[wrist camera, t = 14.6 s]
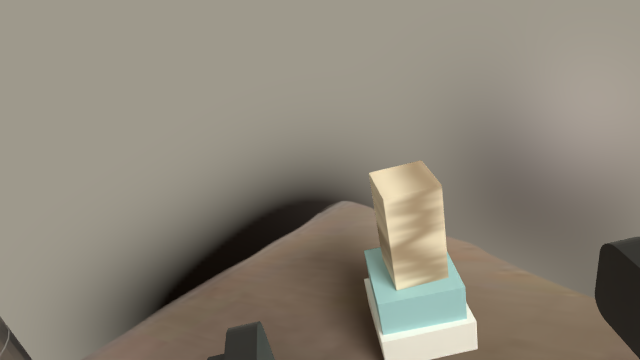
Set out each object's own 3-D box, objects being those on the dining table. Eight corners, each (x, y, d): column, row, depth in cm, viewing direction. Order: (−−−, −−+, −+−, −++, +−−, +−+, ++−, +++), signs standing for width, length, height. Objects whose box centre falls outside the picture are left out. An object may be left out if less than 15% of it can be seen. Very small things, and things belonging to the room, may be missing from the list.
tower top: (383, 335, 44) (377, 304, 42) (369, 279, 51) (364, 250, 49) (466, 318, 43) (465, 287, 41) (441, 264, 50) (438, 235, 48)
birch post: (396, 290, 43) (383, 199, 38) (382, 258, 47) (368, 173, 42) (448, 277, 43) (441, 185, 38) (429, 246, 47) (421, 160, 42)
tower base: (387, 371, 45) (381, 342, 43) (369, 305, 53) (363, 279, 51) (477, 350, 45) (476, 321, 43) (446, 288, 53) (443, 261, 51)
